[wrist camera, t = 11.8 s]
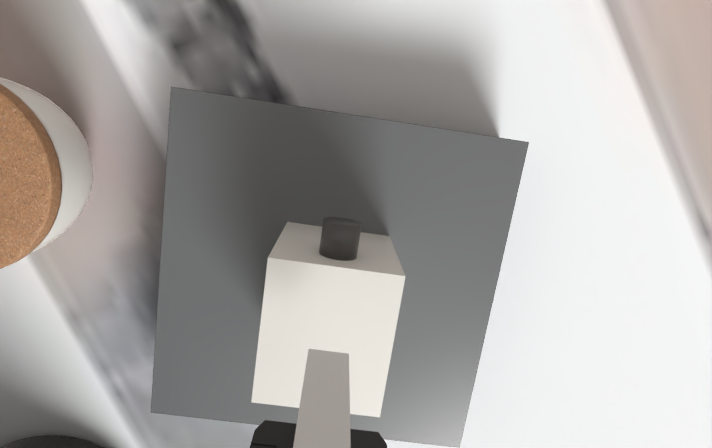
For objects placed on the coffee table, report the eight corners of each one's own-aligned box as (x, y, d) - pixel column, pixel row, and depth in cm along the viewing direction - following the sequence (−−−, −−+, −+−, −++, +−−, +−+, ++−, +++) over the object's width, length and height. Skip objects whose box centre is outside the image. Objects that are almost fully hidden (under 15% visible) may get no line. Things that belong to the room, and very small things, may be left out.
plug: (280, 311, 31) (251, 402, 21) (296, 186, 30) (272, 221, 20) (368, 322, 32) (379, 417, 22) (388, 200, 30) (411, 241, 20)
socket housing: (177, 370, 34) (150, 412, 29) (199, 92, 30) (171, 86, 25) (443, 402, 35) (459, 447, 30) (499, 138, 31) (528, 142, 26)
